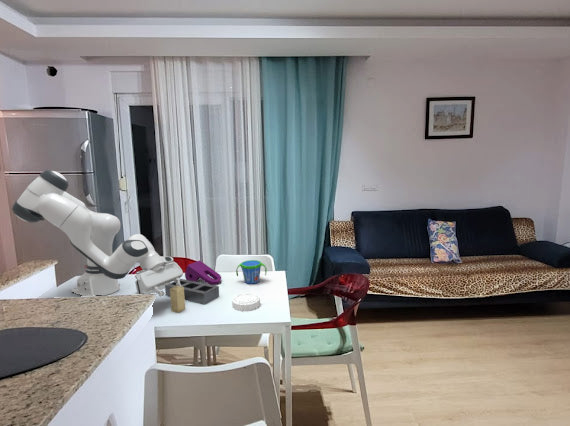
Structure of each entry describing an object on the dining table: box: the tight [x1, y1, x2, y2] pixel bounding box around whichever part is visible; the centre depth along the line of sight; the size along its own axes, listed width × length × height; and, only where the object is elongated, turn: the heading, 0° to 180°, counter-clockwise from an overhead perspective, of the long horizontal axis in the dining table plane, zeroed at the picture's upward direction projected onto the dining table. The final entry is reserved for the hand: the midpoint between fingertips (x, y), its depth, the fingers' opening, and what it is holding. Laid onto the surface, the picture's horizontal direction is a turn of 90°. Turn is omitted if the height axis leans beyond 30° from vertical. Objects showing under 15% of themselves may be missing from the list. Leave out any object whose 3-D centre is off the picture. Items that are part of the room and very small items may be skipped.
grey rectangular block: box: [164, 278, 220, 305], centre depth 162 cm, size 24×10×5 cm, turn 61°
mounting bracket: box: [184, 260, 222, 286], centre depth 181 cm, size 10×8×18 cm
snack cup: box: [235, 259, 267, 285], centre depth 179 cm, size 16×10×10 cm
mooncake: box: [231, 293, 261, 312], centre depth 150 cm, size 12×12×4 cm
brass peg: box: [169, 286, 186, 314], centre depth 146 cm, size 4×4×10 cm
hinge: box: [135, 279, 169, 295], centre depth 171 cm, size 17×5×10 cm, turn 152°
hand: (171, 291), depth 146 cm, fingers open, 8 cm apart
